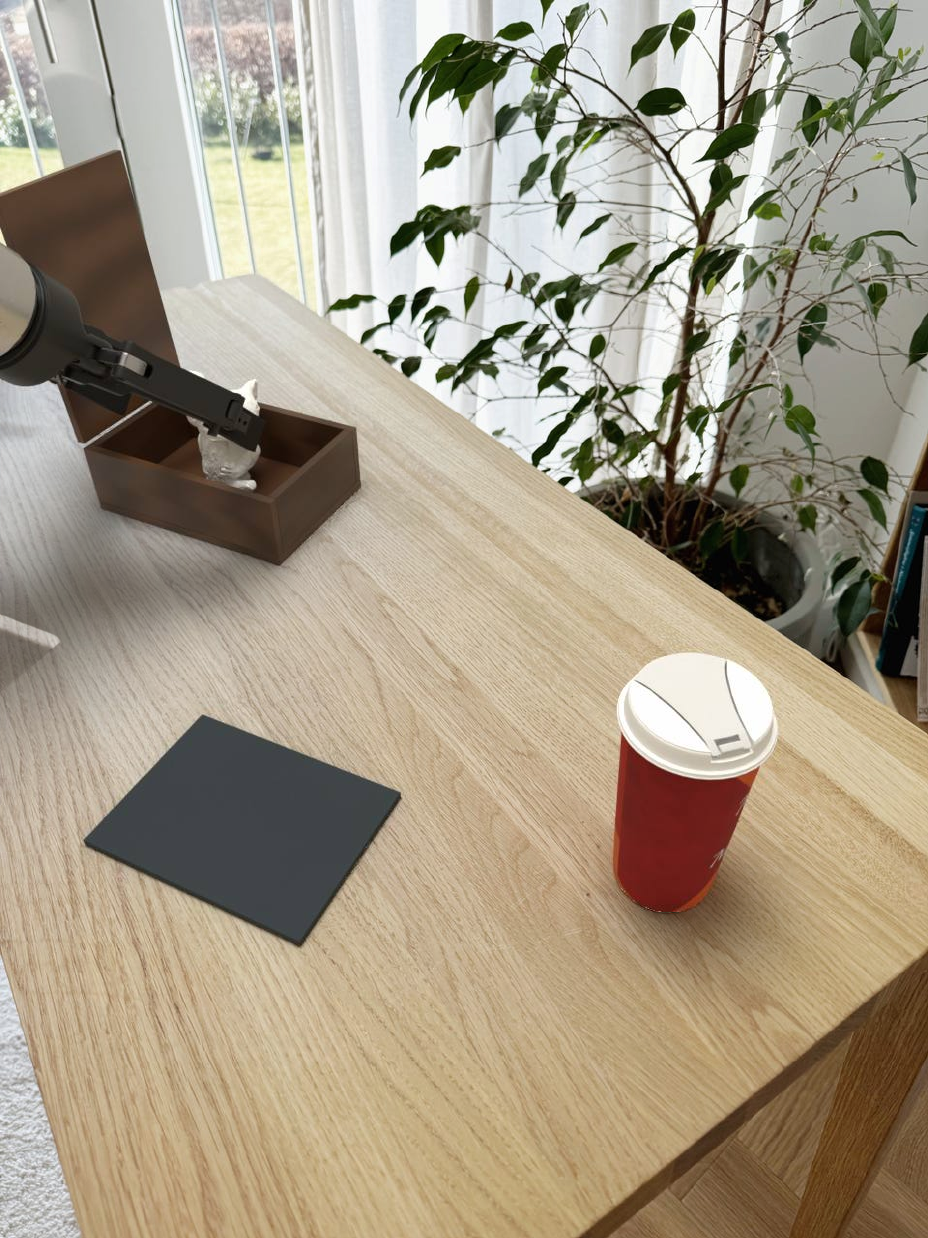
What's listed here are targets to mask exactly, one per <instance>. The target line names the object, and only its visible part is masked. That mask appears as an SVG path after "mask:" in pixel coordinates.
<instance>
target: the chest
mask: <svg viewBox="0 0 928 1238" xmlns="http://www.w3.org/2000/svg"><path fill="white" fill-rule="evenodd" d="M256 402H257V403H258V406H259V407H260V410H259V417H260V418H262V419H264V420H265V421H266V422H265V425H264V428H263V431H262V434H261V437H260V440H259V443H258V445H259V447H260V455H259V458H258V459H257V461H256V463H255V465H254V466H253V467H252V468H251V469H249V470H248V472H249V474H250V476H251V479H250V480H254V481H255V482H256V488H255V490H254V491H253V492H250V491H247V490H243V489H240V488H237V487H233V486H230V485H226V484H223V483H220V482H216V481H213V480H209V479H206V478H207V477H206V475H205V473H204V471H203V465H202V459H203V458H202V455H201V452H200V450H199V443H198V437H199V434H200V432H199V430H198V427H196V426H194V425H192V424H191V423H190V422H189V421H188V419H187V416H186V415H184V414H181V413H179V412H176V411H174V410H171V409H169V408H166V407H164V406H161V405H159V404H156V403H154V402H150V403H149V404H147V405H145V407H144V406H143V408H141V409H140V410H138V411H136V412H135V413H134V414H132V415H131V416H129V417H128V418H127V419H125V420H123V421H122V422H120V423H119V424H117V425H116V426H115V427H113V428H111V429H109V430H108V431H107V432H105V433H103V434H102V435H101V436H99V437H97V438H96V439H95V440H93V441H92V442H90V443H88V444H86V446H84V447H83V448H82V449H83V452H84V456H85V460H86V463H87V467H88V469H89V474H90V477H91V481H92V483H93V486H94V490H95V493H96V496H97V500H98V504H99V507H100V509H104V510H106V511H110V512H113V513H116V514H119V515H122V516H125V517H127V518H131V519H133V520H137V521H141V522H144V523H146V524H150V525H153V526H156V527H159V528H162V529H165V530H169V531H170V532H171V531H172V532H174V533H178V534H181V535H184V536H187V537H190V538H194V539H196V540H200V541H203V542H206V543H209V544H213V545H215V546H217V547H218V546H219V547H222V548H225V549H228V550H232V551H233V552H237V553H240V554H243V555H246V556H250V557H253V558H256V559H259V560H262V561H264V562H268V563H272V564H275V565H277V566H280V565H281V564H282V563H283V562H284V561H286V559H288V558H289V557H290V556H291V555H292V554H293V553H294V552H295V551H296V550H297V549H298V548H299V547H300V546H301V545H302V544H303V543H304V542H306V540H307V539H308V538H309V537H310V536H312V534H313V533H314V532H315V531H316V530H317V529H318V528H320V527H321V525H323V523H325V522H326V521H327V520H328V519H329V518H330V517H331V516H332V515H333V514H334V513H335V512H336V511H337V510H338V509H339V508H340V507H342V505H343V504H344V503H345V502H346V501H347V500H348V499H349V498H350V497H351V496H352V495H353V494H354V493H356V491H358V490H359V489H360V488H361V486H362V482H361V481H362V480H361V469H360V457H359V456H360V455H359V443H358V431H357V426H352V425H348V424H345V423H341V422H337V421H333V420H330V419H326V418H321V417H319V416H318V417H317V416H314V415H310V414H306V413H302V412H299V411H294V410H290V409H286V408H283V407H279V406H275V405H272V404H267V403H264V402H260V401H256Z"/></svg>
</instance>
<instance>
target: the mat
mask: <svg viewBox="0 0 928 1238" xmlns="http://www.w3.org/2000/svg"><path fill="white" fill-rule="evenodd" d="M401 798H402V792H401V791H398V790H395V789H394V788H390V787H388V786H385V785H383V784H380V783H378V782H375V781H373V780H371V779H368V778H365V777H363V776H360V775H357V774H355V773H353V772H351V771H347V770H345V769H342V768H340V767H338V766H335V765H332V764H330V763H327V762H325V761H322V760H321V759H320V760H319V759H317V758H315V757H312V756H310V755H307V754H304V753H302V752H300V751H297V750H294V749H292V748H290V747H287V746H283V745H281V744H279V743H277V742H274V741H271V740H270V739H266V738H264V737H261V736H258V735H257V734H254V733H251V732H249V731H246V730H243V729H241V728H239V727H236V726H233V725H231V724H228V723H226V722H223V721H221V720H218V719H215V718H213V717H210V716H207V715H205V714H201V715H200V716H199V717H198V718H197V719H196V720H195V721H194V723H193V724H192V725H191V726H189V728H188V729H187V730H186V731H185V732H184V733H183V734H182V735H181V736H180V737H179V738H178V739H177V741H176V742H174V743H173V745H172V746H171V747H170V748H168V750H167V751H166V752H165V753H164V754H163V755H162V756H161V757H160V758H159V759H158V760H157V762H155V763H154V765H152V767H151V768H150V769H149V770H148V771H147V772H146V773H145V774H144V775H143V776H142V777H141V779H139V780H138V782H136V784H135V785H134V786H133V787H132V788H130V790H129V791H128V792H127V793H126V794H125V795H124V797H122V799H121V800H119V802H118V803H116V804H115V806H114V807H112V809H111V810H110V811H109V812H108V813H107V814H106V816H105V817H103V818H102V820H100V821H99V823H98V824H97V825H95V827H94V828H93V829H92V830H91V831H90V832H89V833H88V835H86V836H85V837H84V838H83V840H82V841H83V843H84V845H85V846H87V847H89V848H91V849H94V850H96V851H97V852H100V853H102V854H104V855H106V856H108V857H111V858H112V859H115V860H117V861H119V862H121V863H123V864H125V865H127V866H129V867H132V868H133V869H136V870H138V871H140V872H142V873H144V874H147V876H150V877H153V878H155V879H157V880H159V881H162V882H163V883H166V884H168V885H169V886H171V887H174V888H176V889H178V890H180V891H183V892H184V893H186V894H189V895H192V896H193V897H195V898H197V899H200V900H201V901H204V902H206V903H208V904H210V905H212V906H214V907H216V908H218V909H220V910H223V911H224V912H227V913H229V914H231V915H234V916H235V917H237V918H240V919H242V920H244V921H246V922H248V923H250V924H252V925H255V926H256V927H259V928H260V929H263V930H265V931H267V932H269V933H271V934H273V935H276V936H277V937H279V938H282V939H284V940H286V941H289V942H290V941H291V942H290V943H292V942H293V944H295V945H296V946H299V945H301V946H302V945H303V943H304V941H306V939H307V937H308V935H309V934H310V933H309V931H310V932H311V931H312V930H313V928H314V927H313V926H315V925H316V924H317V922H318V921H319V919H320V918H321V916H322V915H323V913H324V912H325V910H326V909H327V908H328V906H329V905H330V903H331V901H332V900H333V898H334V897H335V896H336V894H337V893H336V892H338V891H339V890H340V888H341V887H342V885H343V884H344V882H345V881H346V879H347V878H348V877H349V875H350V874H351V872H352V870H353V869H354V867H355V866H356V865H357V863H358V862H359V860H360V859H361V857H362V856H363V854H364V853H365V852H366V850H367V848H368V847H369V845H370V844H371V842H372V841H373V839H374V838H375V836H376V835H377V834H378V832H379V831H380V829H381V827H382V826H383V824H384V823H385V822H386V820H387V819H388V817H389V816H390V814H391V813H392V811H393V810H394V808H395V807H396V805H397V804H398V802H399V801H400V799H401ZM388 815H389V816H388ZM369 843H370V844H369ZM366 847H367V848H366ZM354 865H355V866H354ZM352 868H353V869H352ZM350 871H351V872H350ZM348 874H349V875H348ZM346 877H347V878H346ZM344 880H345V881H344ZM342 883H343V884H342ZM341 884H342V885H341ZM340 886H341V887H340ZM339 887H340V888H339ZM338 889H339V890H338ZM337 890H338V891H337ZM335 893H336V894H335ZM333 896H334V897H333ZM331 899H332V900H331ZM329 902H330V903H329ZM327 905H328V906H327ZM325 908H326V909H325ZM321 914H322V915H321ZM320 915H321V916H320ZM319 917H320V918H319ZM318 918H319V919H318ZM317 920H318V921H317ZM316 921H317V922H316ZM315 923H316V924H315ZM314 924H315V925H314ZM311 929H312V930H311ZM308 933H309V934H308ZM307 934H308V935H307ZM306 936H307V937H306Z"/></svg>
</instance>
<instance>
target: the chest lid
mask: <svg viewBox="0 0 928 1238" xmlns="http://www.w3.org/2000/svg"><path fill="white" fill-rule="evenodd" d="M122 153H123V152H122V150H121V149H112V150H110V151H106V152H104V153H101V154H99V155H97V156H94V157H91V158H89V159H86V160H83V161H81V162H77V163H76V164H73V165H69V166H67V167H65V168H62V169H60V170H57V171H54V172H52V173H49V174H47V175H43V176H41V177H39V178H36V179H34V180H33V179H32V180H31V181H28V182H25V183H22V184H20V185H18V186H15V187H12V188H10V189H7V190H4V191H1V192H0V231H1V232H0V233H1V234H2V238H3V240H4V243H5V246H7V247H8V248H10V249H12V250H13V251H15V252H16V253H18V254H20V256H21V257H22V258H23V259H24V260H26V261H28V262H30V263H32V264H33V265H35V266H37V267H38V268H40V269H41V270H43V271H44V272H46V273H48V274H49V275H51V276H52V277H54V278H55V279H57V280H59V281H60V282H62V283H63V284H64V285H65V286H67V287H68V288H69V289H70V291H71V292H72V293H73V295H74V296H75V298H76V300H77V302H78V305H79V308H80V313H81V318H82V322H83V323H86V324H88V325H91V326H93V327H96V328H98V329H100V330H102V331H103V332H104V333H105V335H106V336H108V337H110V338H112V339H115V340H117V341H119V342H123V340H127V341H133V342H135V343H136V345H138V346H140V347H142V348H143V349H145V350H147V351H149V352H150V353H152V354H154V355H156V356H158V357H160V358H162V359H164V360H166V361H168V362H170V363H173V364H175V365H177V366H179V367H181V363H180V360H179V356H178V353H177V348H176V345H175V342H174V338H173V335H172V331H171V326H170V324H169V319H168V317H167V311H166V309H165V306H164V301H163V299H162V294H161V290H160V287H159V283H158V280H157V276H156V273H155V269H154V265H153V262H152V257H151V254H150V251H149V248H148V244H147V240H146V237H145V233H144V228H143V226H142V222H141V219H140V215H139V211H138V207H137V204H136V200H135V197H134V193H133V190H132V186H131V181H130V179H129V175H128V172H127V168H126V167H127V166H126V165H125V159H124V157H123V154H122ZM65 385H66V382H64V381H63V382H62V385H60V384H57V389H58V391H59V393H60V396H61V399H62V402H63V405H64V407H65V411H66V413H67V416H68V419H69V421H70V425H71V427H72V429H73V433H74V434H75V437H76V440H77V443H78V444H82V445H83V444H84V445H85V444H87V443H89V442H90V441H91V440H93V439H94V438H96V437H98V436H99V435H100V434H102V433H104V432H105V431H107V430H108V429H110V428H112V427H113V426H114V425H116V424H117V423H118V422H121V421H122V420H124V419H125V418H126V417H128V416H129V415H131V414H132V413H134V412H135V411H137V410H139V409H140V408H141V407H144V405H146V404H147V403H149V402H150V401H149V400H146V399H144V398H141V397H139V396H136V395H134V394H132V395H131V398H130V401H129V404H128V406H127V409H126V412H125V415H124V416H123V415H119V414H117V413H115V412H113V411H111V410H109V409H106V408H104V407H102V406H100V405H98V404H96V403H94V402H92V401H90V400H88V399H86V398H84V397H82V396H80V395H78V394H76V393H74V392H72V391H70V390H68V389H66V388H65Z"/></svg>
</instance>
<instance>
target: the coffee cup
mask: <svg viewBox="0 0 928 1238" xmlns="http://www.w3.org/2000/svg"><path fill="white" fill-rule="evenodd" d="M616 719H617V723H618V727H619V729H620V731H621V732H620V746H619V759H618V760H619V761H618V773H617V786H616V798H615V799H616V800H615V801H616V802H615V812H614V813H615V814H614V815H615V816H614V817H615V818H614V831H613V833H614V834H613V846H612V847H613V849H612V851H613V852H612V869H613V874H614V878H615V877H616V878H615V881H616V880H617V881H616V883H617V882H618V883H619V885H620V887H621V888H622V889H623V891H625V893H626V894H627V895H628V896H629V897H630V898H631V899H632V900H634V901H635V902H637V903H638V904H640V905H642V906H644V907H647V908H649V909H652V910H655V911H661V912H678V911H679V913H681V912H680V911H683V910H684V911H683V912H686V911H685V910H687V909H689V910H691V909H692V908H691V907H693V908H694V906H695V905H696V906H698V905H699V904H700V903H702V901H704V899H705V897H706V896H707V895H708V893H709V891H710V889H711V887H712V885H713V883H714V881H715V879H716V876H717V874H718V872H719V869H720V867H721V864H722V862H723V860H724V857H725V854H726V852H727V849H728V848H729V845H730V842H731V840H732V838H733V835H734V833H735V831H736V827H737V825H738V822H739V820H740V817H741V815H742V814H743V813H742V812H743V810H744V807H745V804H746V803H747V800H748V798H749V795H750V792H751V790H752V787H753V785H754V782H755V780H756V777H757V775H758V773H759V770H760V768H761V765H763V764H764V763H765V762H766V761H767V760H768V759H769V757H771V755H772V754H773V752H774V749H775V748H776V746H777V741H778V737H779V726H778V720H777V716H776V715H775V712H774V706H773V701H772V698H771V696H770V694H769V691H767V689H766V687H765V685H763V683H762V682H761V681H760V680H759V679H758V677H757V676H755V675H754V674H753V673H752V672H750V671H749V670H748V669H746V668H745V667H743V666H742V665H741V664H739V663H737V662H734V661H733V660H730V659H727V658H724V657H721V656H717V655H712V654H707V653H701V652H692V651H691V652H690V651H689V652H677V653H671V654H668V655H664V656H660V657H658V658H656V659H653V660H651V661H649V662H648V663H647V664H645V665H644V667H642V668H641V669H640V671H638V673H636V675H635V676H634V677H632V678H631V679H630V680H629V681H628V682H627V683H626V685H625V686H624V687H623V688H622V690H621V692H620V694H619V697H618V700H617V705H616ZM618 883H617V884H618ZM619 885H618V886H619ZM620 887H619V888H620ZM621 888H620V889H621ZM623 891H622V892H623ZM625 893H624V894H625ZM626 894H625V895H626ZM627 895H626V896H627ZM628 896H627V897H628ZM629 897H628V898H629ZM630 898H629V899H630ZM703 898H704V899H703ZM631 899H630V900H631ZM632 900H631V901H632ZM635 902H634V903H635ZM699 902H700V903H699ZM698 903H699V904H698ZM638 904H637V905H638ZM697 904H698V905H697ZM640 905H639V906H640ZM696 906H695V907H696ZM644 907H643V908H644ZM690 908H691V909H690ZM655 911H654V912H655ZM687 911H688V910H687Z"/></svg>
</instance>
